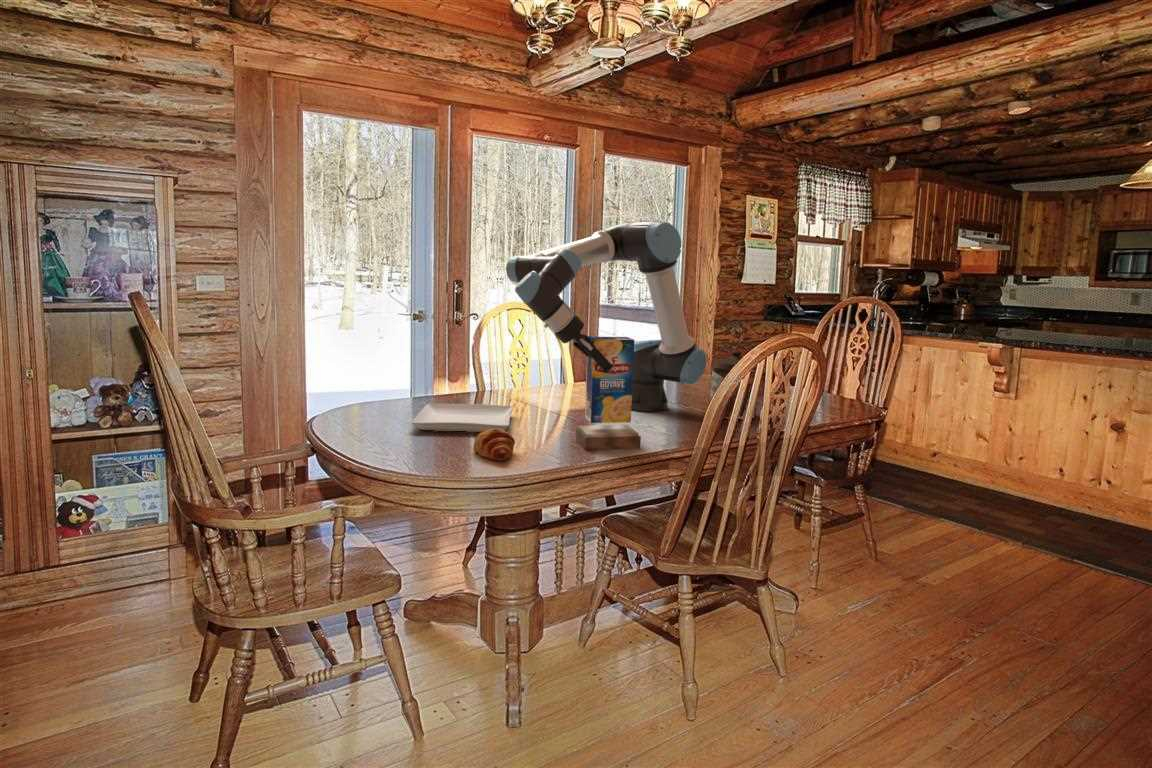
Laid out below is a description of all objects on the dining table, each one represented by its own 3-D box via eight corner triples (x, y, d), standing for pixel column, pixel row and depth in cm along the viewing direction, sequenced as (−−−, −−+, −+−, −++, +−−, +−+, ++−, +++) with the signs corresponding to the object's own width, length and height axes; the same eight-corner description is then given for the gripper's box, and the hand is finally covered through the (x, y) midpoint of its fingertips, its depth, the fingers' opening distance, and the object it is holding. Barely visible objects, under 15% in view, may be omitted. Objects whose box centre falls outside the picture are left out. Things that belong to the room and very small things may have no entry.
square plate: (410, 434, 198) (410, 421, 198) (427, 414, 225) (427, 402, 225) (508, 437, 199) (508, 423, 199) (513, 416, 226) (514, 404, 226)
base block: (628, 438, 200) (628, 424, 200) (640, 448, 190) (640, 433, 189) (575, 439, 197) (576, 425, 196) (585, 449, 186) (585, 434, 186)
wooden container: (704, 410, 242) (708, 346, 238) (747, 411, 243) (751, 347, 239) (715, 420, 227) (720, 351, 224) (761, 421, 228) (766, 352, 225)
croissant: (474, 456, 190) (460, 431, 188) (507, 437, 192) (493, 412, 190) (493, 478, 170) (477, 450, 168) (529, 456, 173) (514, 428, 170)
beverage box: (630, 422, 190) (634, 339, 186) (590, 423, 187) (593, 339, 184) (623, 416, 196) (627, 336, 193) (584, 417, 194) (587, 336, 190)
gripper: (548, 330, 192) (606, 391, 198) (559, 336, 178) (621, 401, 184) (568, 311, 192) (625, 372, 199) (580, 315, 178) (641, 381, 184)
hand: (623, 386), depth 191 cm, fingers closed on beverage box, 2 cm apart
